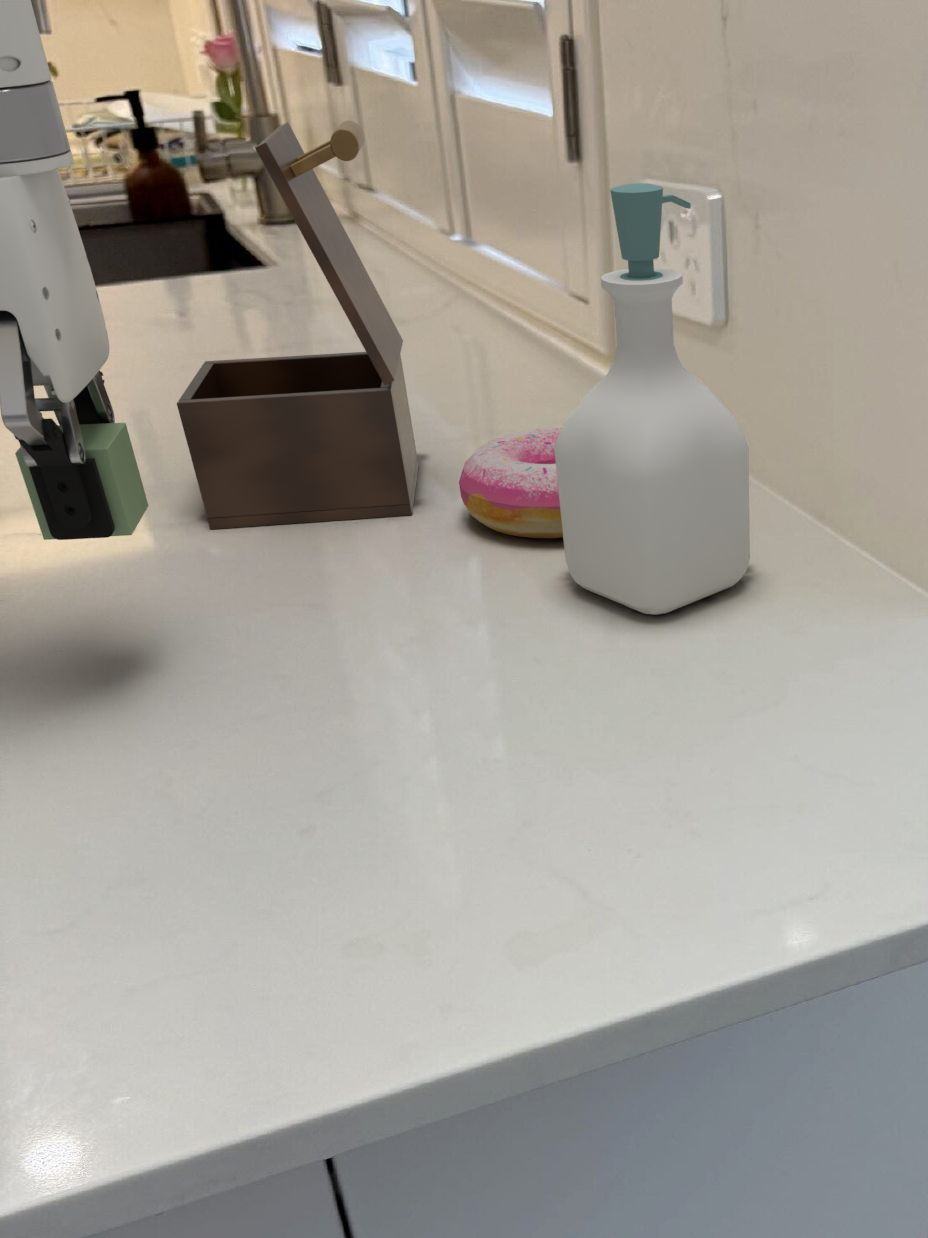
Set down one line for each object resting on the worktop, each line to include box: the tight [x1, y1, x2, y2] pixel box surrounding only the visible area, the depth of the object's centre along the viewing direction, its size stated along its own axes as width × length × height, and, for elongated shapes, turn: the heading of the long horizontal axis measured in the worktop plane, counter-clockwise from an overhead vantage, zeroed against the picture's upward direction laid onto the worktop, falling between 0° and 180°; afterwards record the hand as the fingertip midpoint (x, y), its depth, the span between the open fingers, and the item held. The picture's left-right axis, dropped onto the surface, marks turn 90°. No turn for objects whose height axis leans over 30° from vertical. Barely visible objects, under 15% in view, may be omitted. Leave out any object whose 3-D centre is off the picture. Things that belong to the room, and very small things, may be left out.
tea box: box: [176, 351, 420, 530], centre depth 99 cm, size 15×12×9 cm
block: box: [15, 422, 149, 541], centre depth 72 cm, size 5×5×5 cm
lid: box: [254, 120, 404, 385], centre depth 91 cm, size 15×12×6 cm
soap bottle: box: [555, 182, 751, 616], centre depth 79 cm, size 10×10×23 cm
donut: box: [458, 426, 563, 539], centre depth 95 cm, size 14×13×5 cm
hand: (95, 515), depth 73 cm, fingers closed on block, 4 cm apart
